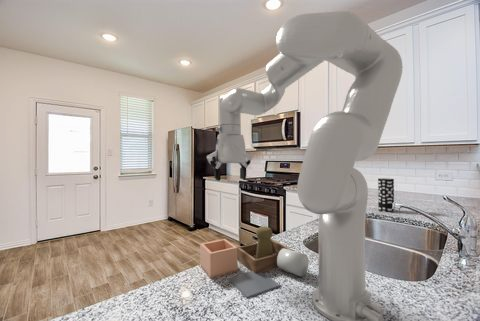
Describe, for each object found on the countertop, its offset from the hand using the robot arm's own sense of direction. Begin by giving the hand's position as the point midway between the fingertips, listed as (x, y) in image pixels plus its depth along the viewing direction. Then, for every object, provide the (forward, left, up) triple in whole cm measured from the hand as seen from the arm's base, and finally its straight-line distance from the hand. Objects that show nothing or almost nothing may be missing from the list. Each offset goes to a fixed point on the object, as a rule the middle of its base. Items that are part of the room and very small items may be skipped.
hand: (230, 179), depth 79 cm
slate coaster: (-19, +3, -26) cm, 33 cm away
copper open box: (-7, +8, -26) cm, 28 cm away
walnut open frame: (-10, -7, -26) cm, 29 cm away
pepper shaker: (-10, -7, -26) cm, 29 cm away
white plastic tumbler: (-20, -10, -26) cm, 35 cm away
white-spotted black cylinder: (+9, -113, -26) cm, 116 cm away
